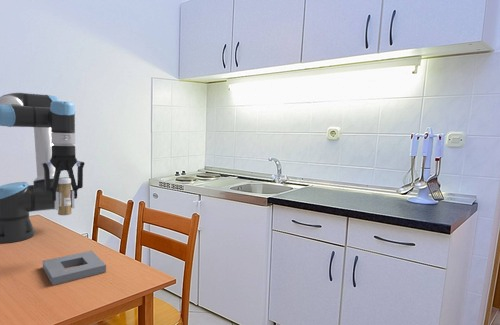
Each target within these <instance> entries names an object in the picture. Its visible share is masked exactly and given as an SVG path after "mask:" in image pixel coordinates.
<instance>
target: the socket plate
mask: <svg viewBox="0 0 500 325" xmlns="http://www.w3.org/2000/svg"><path fill="white" fill-rule="evenodd" d="M42 269H43V271H44V272H45V275H46V277H47V278H48V279H49V282H50V284H51V285H52V286H56V285H60V284H63V283H68V282H71V281H77V280H80V279H83V278H87V277H92V276H95V275H99V274H103V273H107V264H106V263H105V262H104V261H103V260H102V258H100V257H99V256H98V255H97V254H96V253H95V252H94V251H93V250H89V251H88V250H87V251H83V252H79V253H73V254H69V255H64V256H59V257H54V258H50V259H45V260H42Z"/></svg>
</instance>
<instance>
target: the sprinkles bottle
mask: <svg viewBox="0 0 500 325" xmlns="http://www.w3.org/2000/svg"><path fill="white" fill-rule="evenodd" d="M71 190H72V186H71V178H69V177H61V178H59V180H58V192H59V210H57V215H58V216H69V215H72V213H73V211H72V208H71Z"/></svg>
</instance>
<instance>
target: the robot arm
mask: <svg viewBox="0 0 500 325" xmlns="http://www.w3.org/2000/svg"><path fill="white" fill-rule="evenodd" d="M75 117H76V111H75V104H74V102H72V101H62V100H60V99H59V97H57V96H55V95H48V94H38V93H28V92H27V93H25V92H11V93H7V94H3V95H2V96H1V95H0V127H8V128H12V127H13V128H14V127H15V128H16V127H17V128H18V127H19V128H33V134H34V150H35V163H36V164H35V165H36V178H35V179H34V180H32V182H33V183H32V184H29V182H27V181H18V182H11V183H6V184H3V185H0V244H9V243H15V242H16V243H17V242H21V241H25V240H28V239H30V238H32V237H34V236H35V228H34V226H33V224H32V222H31V219H30V213H31V212H39V211H40V212H41V211H49V210H50V211H51V210H56V211H58V210H59V192H58V180H59V178H62V177H61V173H62V171H66V172H67V176H68V178H71V209H75V199H77V198H78V190H80V189H83V188H84V186H83V185H84V184H83V182H84V181H83V180H84V178H83V177H84V171H83V170H84V167H85V162H84V161H81V160H78V159H77V157H76V146H75V144H76V124H75V123H76V118H75ZM74 166H76V167H77V180H76V178H75V174H74V169H73V168H74Z"/></svg>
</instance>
